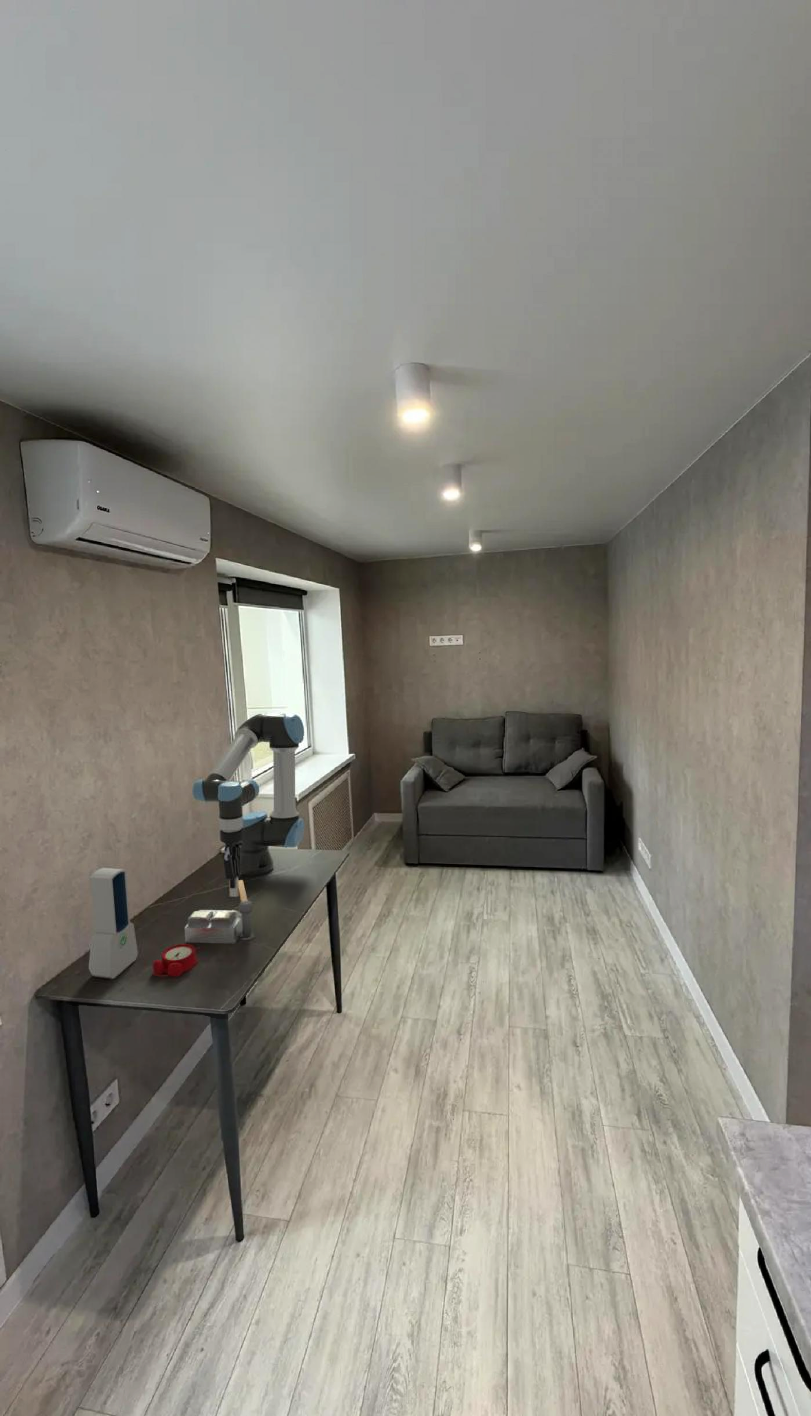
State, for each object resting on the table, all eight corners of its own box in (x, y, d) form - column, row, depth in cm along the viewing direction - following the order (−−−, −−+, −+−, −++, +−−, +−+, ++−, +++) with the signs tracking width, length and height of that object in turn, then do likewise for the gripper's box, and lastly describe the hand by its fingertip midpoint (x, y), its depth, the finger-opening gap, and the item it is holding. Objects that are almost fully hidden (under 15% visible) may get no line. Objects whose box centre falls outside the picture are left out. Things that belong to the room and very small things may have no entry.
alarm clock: (206, 944, 184) (175, 960, 170) (204, 966, 184) (174, 983, 169) (176, 940, 187) (144, 955, 172) (174, 961, 186) (142, 978, 172)
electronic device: (111, 981, 172) (103, 880, 167) (88, 978, 173) (79, 878, 169) (139, 957, 184) (132, 863, 180) (117, 955, 185) (109, 861, 181)
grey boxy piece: (200, 924, 204) (199, 903, 203) (261, 925, 203) (260, 904, 202) (185, 942, 192) (184, 920, 191) (250, 944, 191) (249, 922, 190)
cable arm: (254, 937, 194) (252, 905, 193) (241, 939, 193) (239, 907, 191) (247, 907, 215) (245, 878, 213) (235, 909, 213) (234, 880, 212)
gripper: (227, 822, 209) (230, 887, 212) (213, 835, 196) (216, 904, 199) (248, 822, 208) (251, 888, 212) (235, 835, 196) (238, 904, 199)
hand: (234, 895), depth 205 cm, fingers closed
